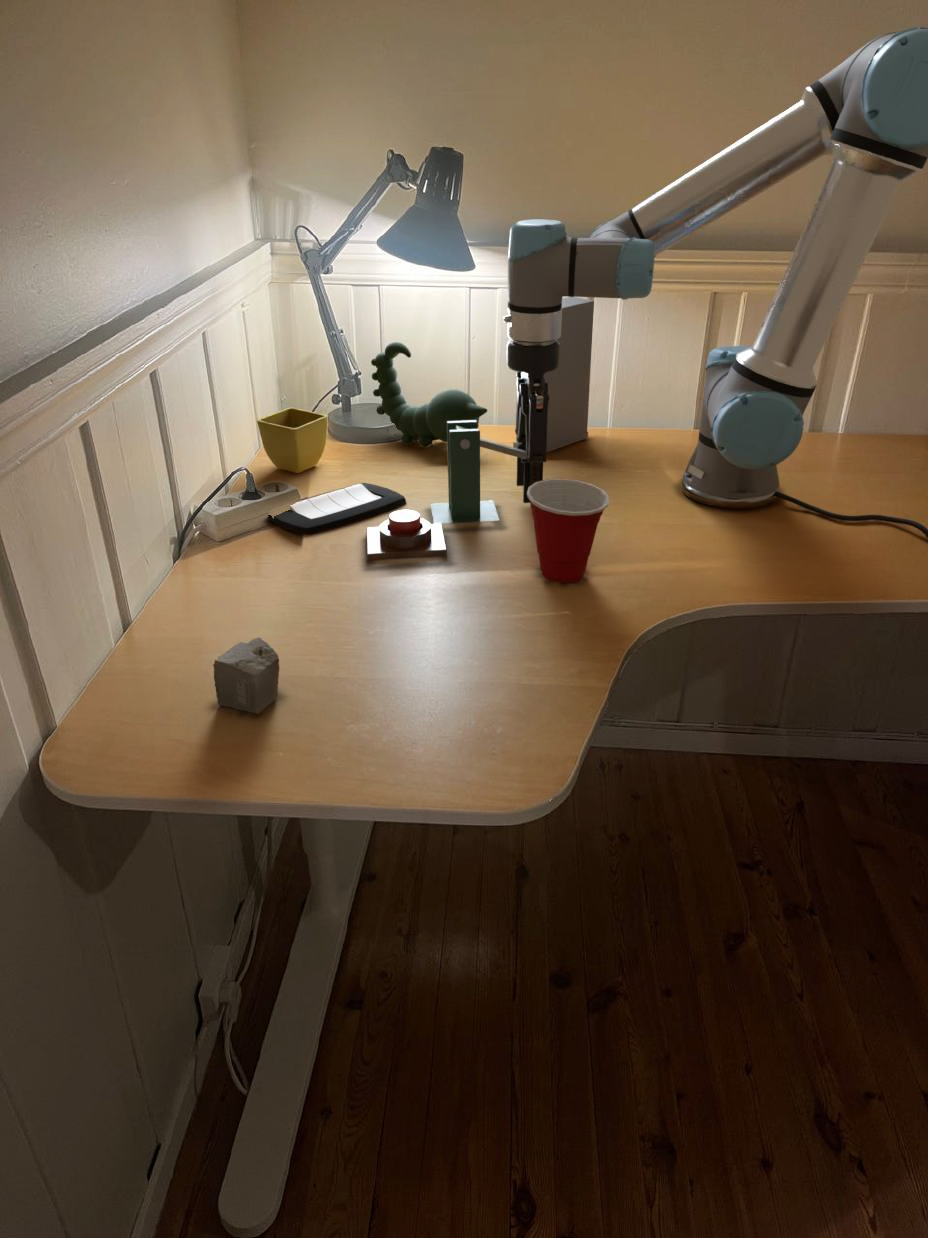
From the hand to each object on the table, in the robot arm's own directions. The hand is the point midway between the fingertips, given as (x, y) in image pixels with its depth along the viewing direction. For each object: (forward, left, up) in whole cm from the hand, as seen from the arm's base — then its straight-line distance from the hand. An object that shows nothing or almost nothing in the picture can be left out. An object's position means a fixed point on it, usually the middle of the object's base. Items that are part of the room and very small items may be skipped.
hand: (528, 492), depth 144 cm
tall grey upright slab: (+18, -27, -4) cm, 33 cm away
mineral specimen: (-12, +59, -4) cm, 60 cm away
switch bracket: (+6, +8, -4) cm, 11 cm away
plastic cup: (-17, +12, -4) cm, 21 cm away
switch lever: (+4, +4, +6) cm, 8 cm away
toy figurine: (+34, -12, -4) cm, 37 cm away
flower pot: (+43, +12, -4) cm, 45 cm away
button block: (+4, +22, -4) cm, 22 cm away
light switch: (+22, +20, -4) cm, 30 cm away
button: (+4, +22, 0) cm, 22 cm away
